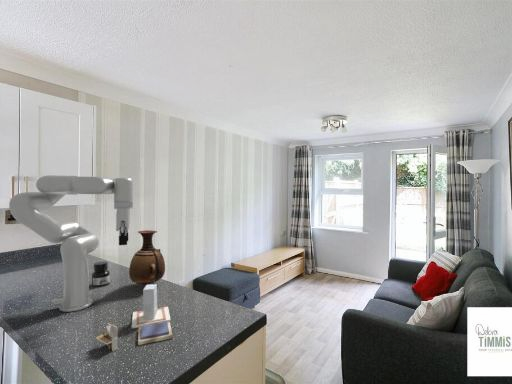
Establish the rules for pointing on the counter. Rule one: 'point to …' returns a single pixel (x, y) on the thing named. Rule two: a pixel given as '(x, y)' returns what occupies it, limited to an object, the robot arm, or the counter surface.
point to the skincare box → (150, 301)
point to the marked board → (159, 318)
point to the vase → (147, 262)
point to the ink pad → (154, 333)
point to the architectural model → (110, 337)
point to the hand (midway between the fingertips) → (123, 243)
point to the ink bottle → (100, 274)
